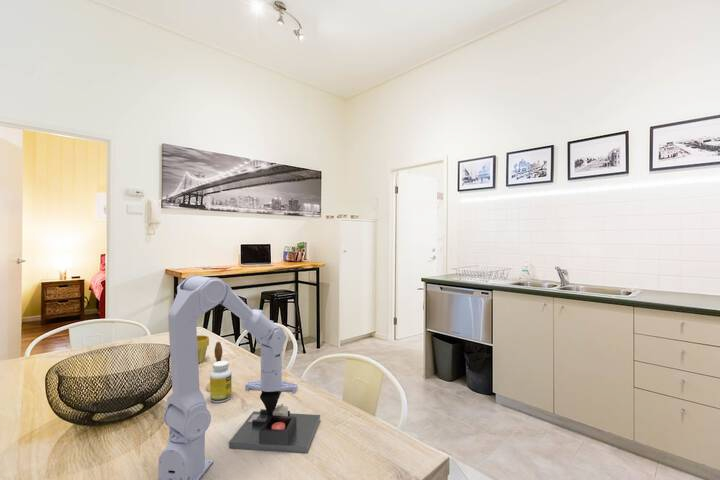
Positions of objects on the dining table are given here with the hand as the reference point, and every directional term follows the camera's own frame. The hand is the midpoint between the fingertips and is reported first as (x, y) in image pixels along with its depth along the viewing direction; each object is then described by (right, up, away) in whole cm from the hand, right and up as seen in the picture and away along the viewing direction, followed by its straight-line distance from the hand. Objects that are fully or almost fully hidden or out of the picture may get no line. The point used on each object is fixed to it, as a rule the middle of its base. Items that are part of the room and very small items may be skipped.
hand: (271, 416), depth 96 cm
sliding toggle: (+3, -1, 0) cm, 3 cm away
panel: (+3, -3, -4) cm, 5 cm away
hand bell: (-25, -2, +24) cm, 35 cm away
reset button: (+4, -1, -8) cm, 9 cm away
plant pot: (-44, -2, +48) cm, 66 cm away
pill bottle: (-20, -2, +16) cm, 26 cm away
